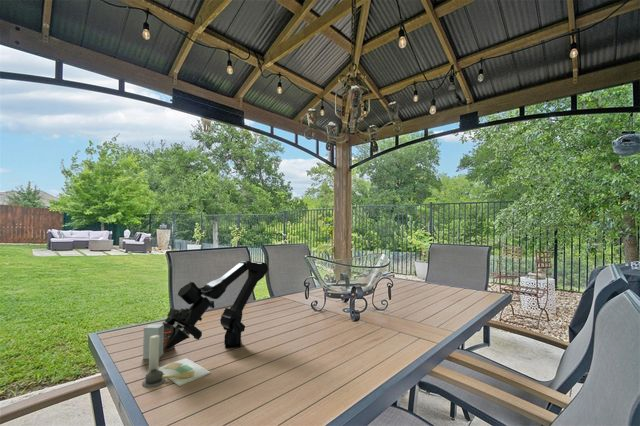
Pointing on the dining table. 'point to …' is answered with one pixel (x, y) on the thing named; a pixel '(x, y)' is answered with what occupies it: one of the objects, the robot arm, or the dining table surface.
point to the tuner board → (180, 372)
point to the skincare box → (152, 331)
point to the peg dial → (153, 371)
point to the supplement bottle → (167, 336)
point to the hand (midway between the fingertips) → (166, 348)
